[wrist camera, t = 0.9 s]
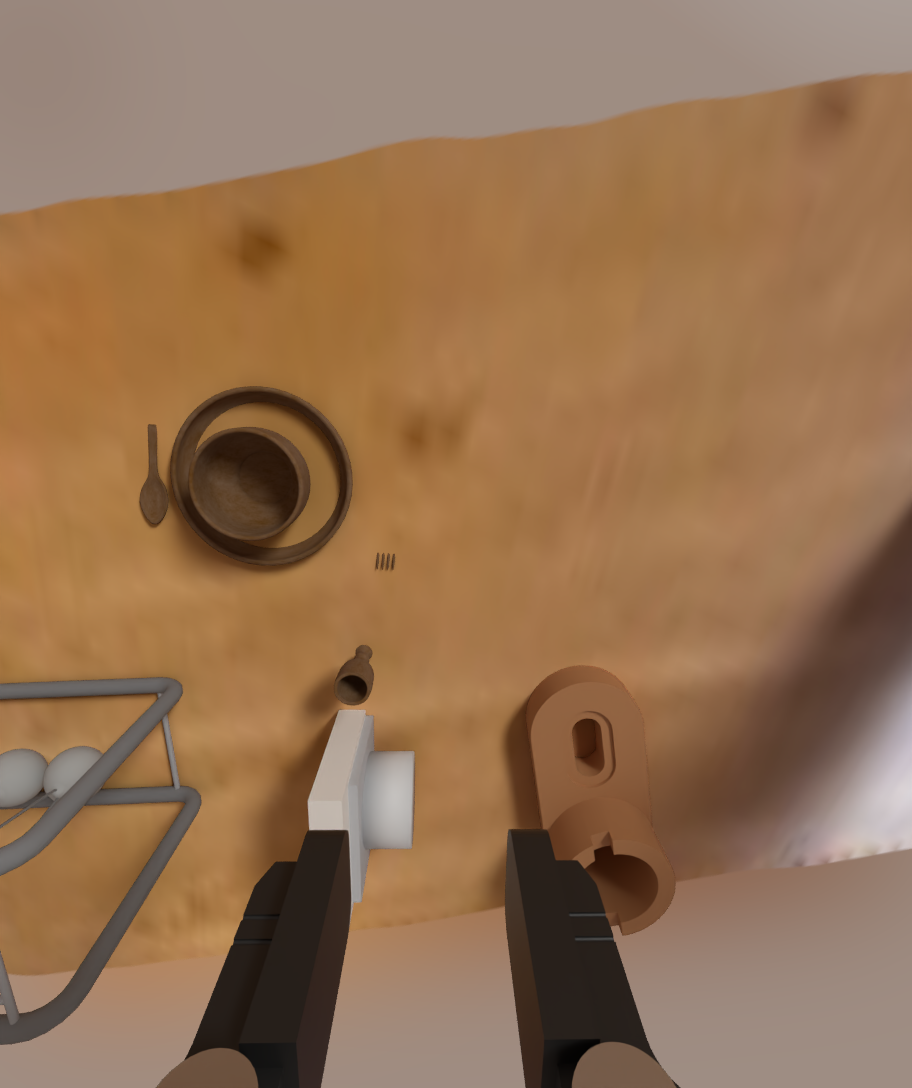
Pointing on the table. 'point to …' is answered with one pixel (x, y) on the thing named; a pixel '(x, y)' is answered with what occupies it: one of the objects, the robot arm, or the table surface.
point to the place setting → (253, 495)
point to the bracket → (599, 792)
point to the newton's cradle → (66, 792)
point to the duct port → (363, 793)
